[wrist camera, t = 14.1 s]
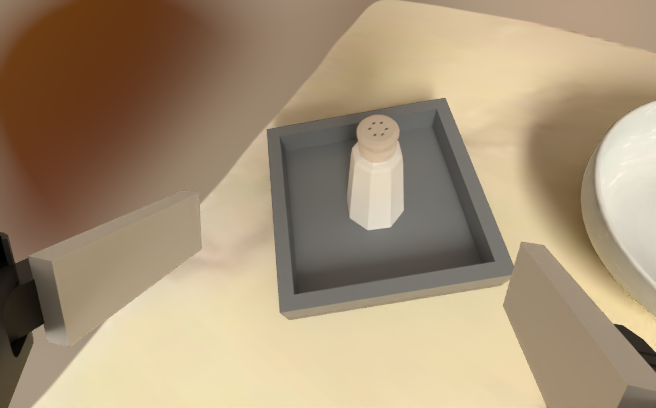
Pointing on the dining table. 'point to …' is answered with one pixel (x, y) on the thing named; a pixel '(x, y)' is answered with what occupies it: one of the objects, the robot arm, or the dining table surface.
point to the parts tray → (387, 243)
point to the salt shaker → (376, 174)
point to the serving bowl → (625, 203)
